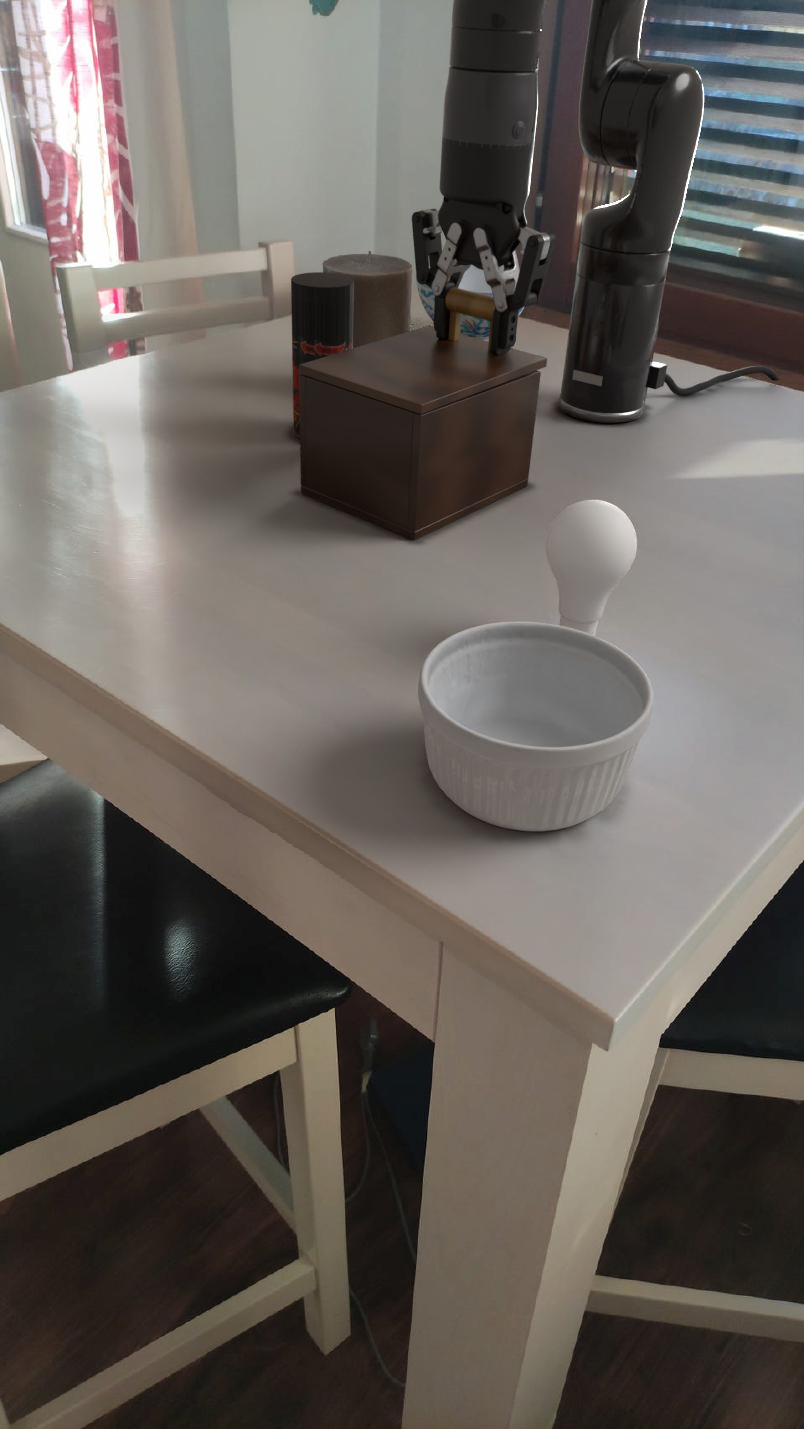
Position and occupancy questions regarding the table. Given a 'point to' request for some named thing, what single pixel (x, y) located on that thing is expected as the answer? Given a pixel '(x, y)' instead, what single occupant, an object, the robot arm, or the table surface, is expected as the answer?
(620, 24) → the robot arm
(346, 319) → the deodorant
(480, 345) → the lid
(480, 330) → the chinaware
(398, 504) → the chest
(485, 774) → the ramekin
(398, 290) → the pillar candle
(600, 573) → the lightbulb
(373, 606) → the table surface
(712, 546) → the table surface
